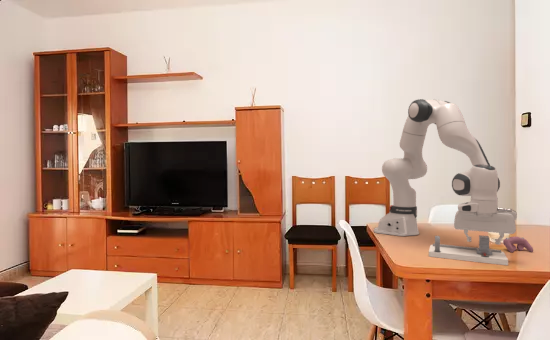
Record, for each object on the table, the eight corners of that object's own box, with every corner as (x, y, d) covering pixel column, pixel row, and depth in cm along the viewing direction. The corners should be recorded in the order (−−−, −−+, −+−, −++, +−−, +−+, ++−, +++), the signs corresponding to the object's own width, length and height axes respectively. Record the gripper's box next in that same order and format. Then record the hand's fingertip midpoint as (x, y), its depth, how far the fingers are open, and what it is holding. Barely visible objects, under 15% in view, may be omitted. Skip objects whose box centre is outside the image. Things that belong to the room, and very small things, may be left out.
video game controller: (527, 254, 142) (521, 237, 145) (535, 251, 138) (529, 234, 141) (504, 254, 142) (499, 238, 145) (512, 252, 137) (506, 235, 140)
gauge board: (428, 256, 134) (428, 236, 134) (430, 249, 144) (430, 230, 144) (508, 265, 122) (508, 243, 121) (503, 256, 132) (503, 236, 132)
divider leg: (477, 254, 127) (477, 238, 127) (476, 250, 134) (476, 234, 133) (492, 256, 125) (493, 239, 125) (491, 251, 131) (491, 236, 131)
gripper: (515, 207, 128) (514, 244, 128) (454, 204, 137) (453, 238, 138) (518, 210, 122) (517, 248, 123) (454, 206, 132) (453, 241, 132)
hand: (483, 242), depth 130 cm, fingers open, 8 cm apart
